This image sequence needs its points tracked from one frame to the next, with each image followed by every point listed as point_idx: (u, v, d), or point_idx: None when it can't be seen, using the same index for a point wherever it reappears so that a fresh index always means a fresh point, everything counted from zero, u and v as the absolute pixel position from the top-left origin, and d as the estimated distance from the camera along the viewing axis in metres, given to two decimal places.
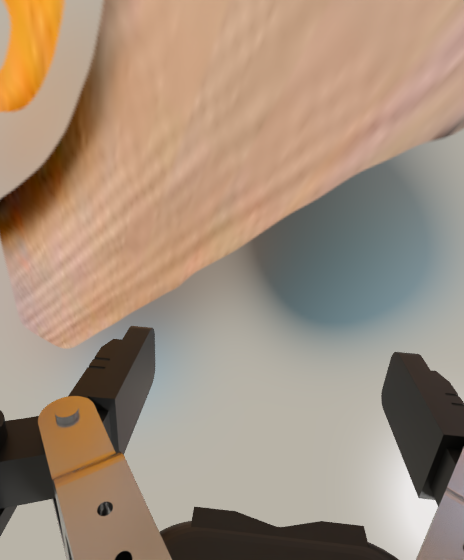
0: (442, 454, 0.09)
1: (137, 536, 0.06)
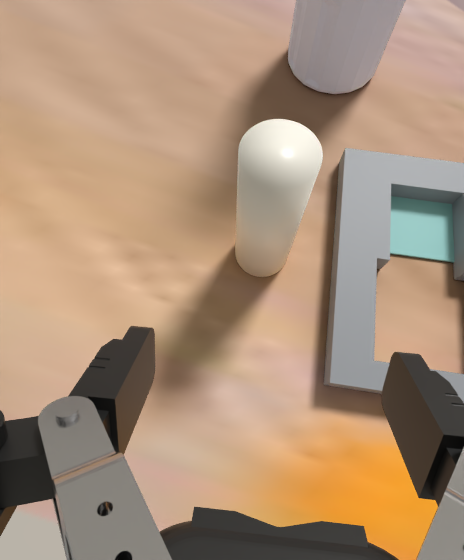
0: (442, 454, 0.09)
1: (137, 536, 0.06)
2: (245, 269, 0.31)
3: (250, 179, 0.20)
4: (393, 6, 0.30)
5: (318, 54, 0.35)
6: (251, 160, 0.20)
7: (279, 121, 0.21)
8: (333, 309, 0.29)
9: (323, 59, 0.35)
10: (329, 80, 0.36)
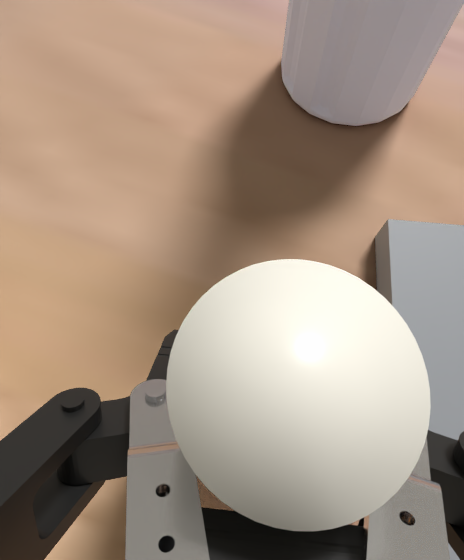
0: None
1: (184, 526, 0.06)
2: None
3: (205, 484, 0.06)
4: None
5: (332, 67, 0.21)
6: (208, 415, 0.06)
7: (286, 268, 0.07)
8: None
9: (341, 75, 0.21)
10: (349, 106, 0.23)
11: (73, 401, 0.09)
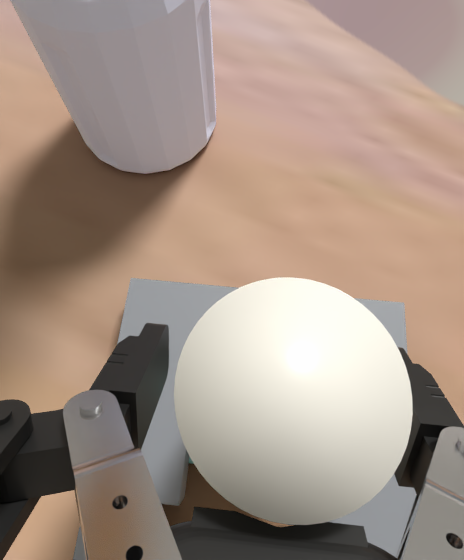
0: (420, 442, 0.10)
1: (149, 532, 0.06)
2: None
3: (209, 482, 0.07)
4: (166, 46, 0.17)
5: (91, 122, 0.21)
6: (212, 420, 0.07)
7: (282, 285, 0.08)
8: None
9: (100, 130, 0.21)
10: (126, 157, 0.23)
11: (0, 414, 0.08)
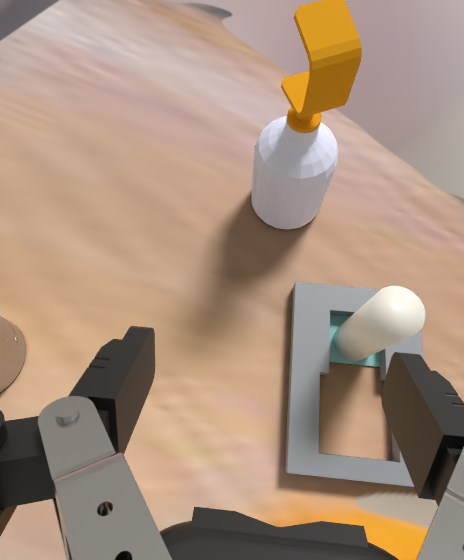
0: (442, 454, 0.09)
1: (137, 536, 0.06)
2: (344, 356, 0.43)
3: (381, 330, 0.31)
4: (321, 187, 0.42)
5: (272, 209, 0.46)
6: (380, 317, 0.31)
7: (393, 287, 0.32)
8: (289, 413, 0.40)
9: (276, 212, 0.46)
10: (282, 223, 0.48)
11: None
